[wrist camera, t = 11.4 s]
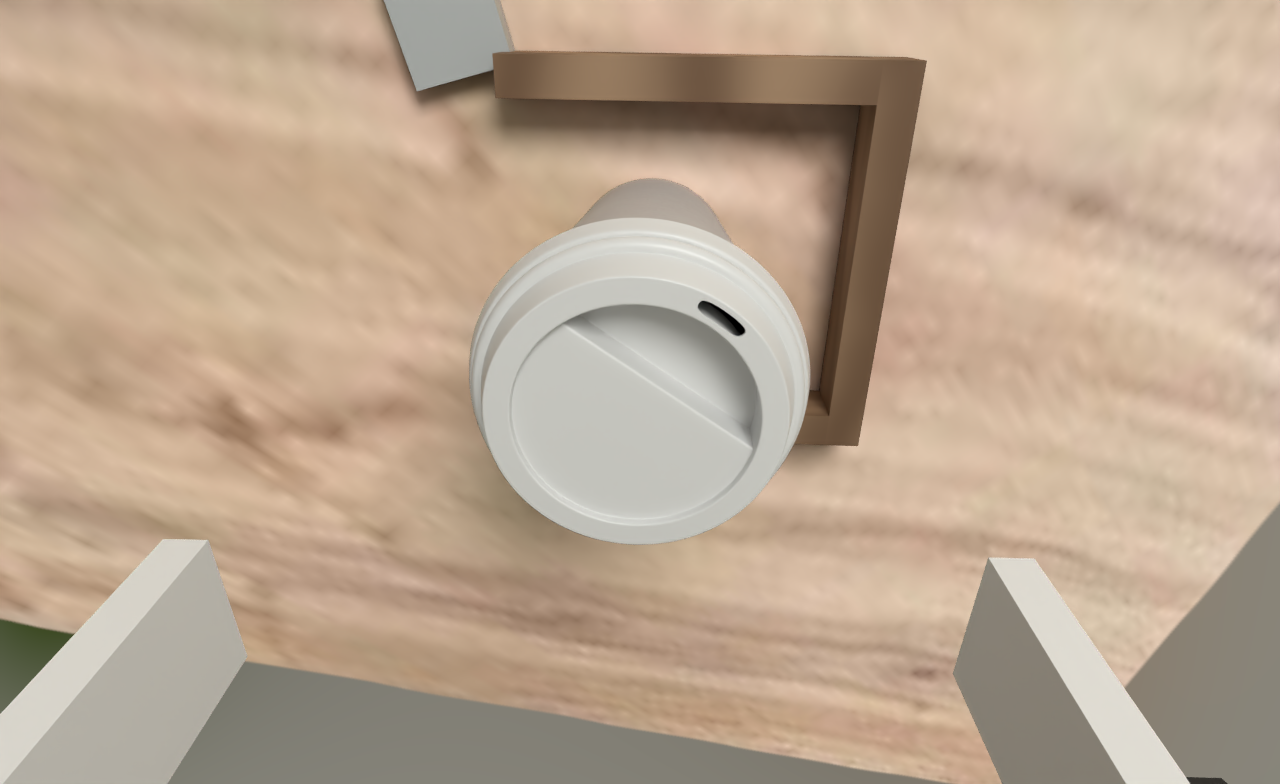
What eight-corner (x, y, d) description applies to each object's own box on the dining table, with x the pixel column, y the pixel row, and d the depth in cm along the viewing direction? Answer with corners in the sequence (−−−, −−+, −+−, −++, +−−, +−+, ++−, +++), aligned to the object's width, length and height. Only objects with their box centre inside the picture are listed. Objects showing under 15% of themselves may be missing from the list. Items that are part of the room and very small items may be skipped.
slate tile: (424, 88, 29) (416, 91, 28) (384, -22, 27) (375, -24, 26) (518, 62, 28) (513, 63, 28) (483, -53, 27) (477, -56, 26)
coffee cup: (798, 287, 32) (886, 478, 19) (619, 386, 35) (585, 614, 22) (689, 92, 29) (703, 157, 15) (499, 218, 31) (371, 366, 18)
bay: (529, 408, 36) (520, 434, 33) (506, 50, 28) (492, 53, 26) (846, 419, 35) (857, 446, 33) (906, 57, 28) (926, 60, 26)
